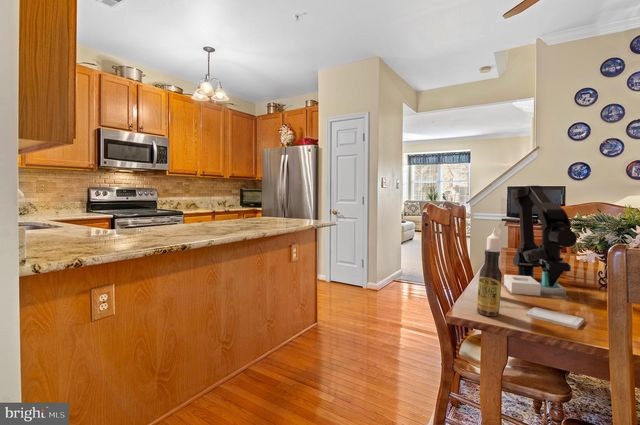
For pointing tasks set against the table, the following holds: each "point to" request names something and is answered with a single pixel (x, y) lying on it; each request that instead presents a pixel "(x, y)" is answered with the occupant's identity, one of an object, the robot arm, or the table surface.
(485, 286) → the sauce bottle
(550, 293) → the holster
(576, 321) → the hard drive
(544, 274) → the plug
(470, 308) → the table surface
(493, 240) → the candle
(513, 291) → the port box
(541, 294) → the board
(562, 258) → the robot arm
